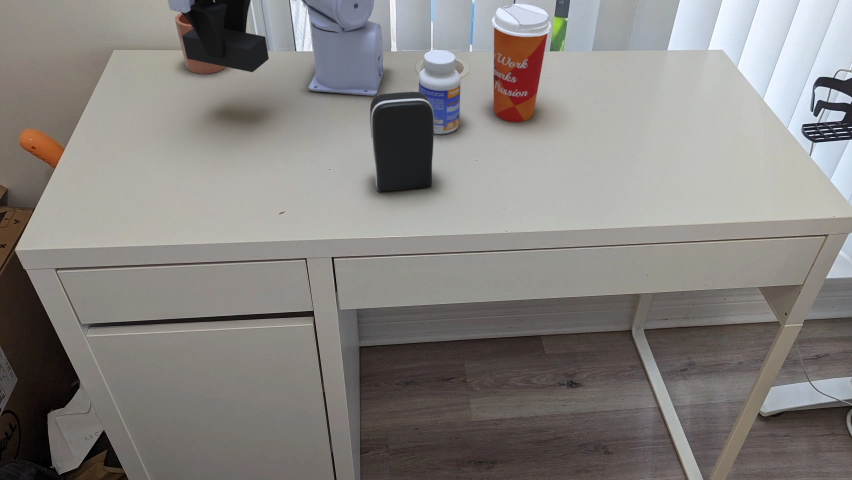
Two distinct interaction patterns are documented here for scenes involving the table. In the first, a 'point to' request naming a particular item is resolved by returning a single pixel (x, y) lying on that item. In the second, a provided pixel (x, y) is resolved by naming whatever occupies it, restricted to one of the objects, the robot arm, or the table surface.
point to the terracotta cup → (191, 65)
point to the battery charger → (402, 140)
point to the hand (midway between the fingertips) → (226, 48)
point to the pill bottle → (441, 89)
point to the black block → (230, 50)
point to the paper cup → (518, 59)
